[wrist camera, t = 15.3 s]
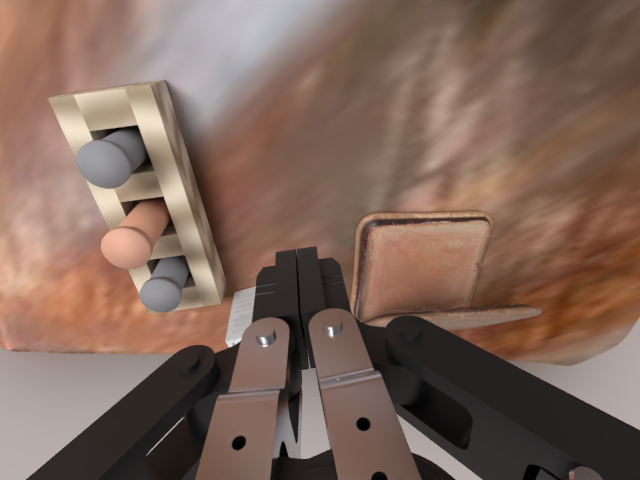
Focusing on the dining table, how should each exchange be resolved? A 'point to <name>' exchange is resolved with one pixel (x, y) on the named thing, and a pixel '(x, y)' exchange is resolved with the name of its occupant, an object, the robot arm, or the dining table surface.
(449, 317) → the case
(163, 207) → the plug mid
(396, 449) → the robot arm
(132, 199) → the socket block
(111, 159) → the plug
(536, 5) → the dining table surface
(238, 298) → the small box
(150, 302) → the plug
